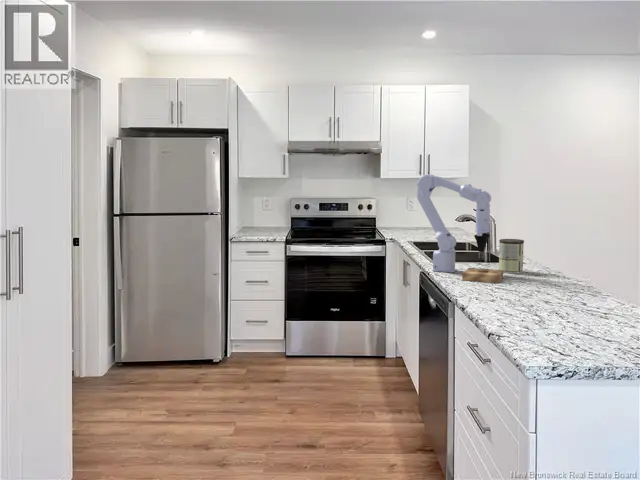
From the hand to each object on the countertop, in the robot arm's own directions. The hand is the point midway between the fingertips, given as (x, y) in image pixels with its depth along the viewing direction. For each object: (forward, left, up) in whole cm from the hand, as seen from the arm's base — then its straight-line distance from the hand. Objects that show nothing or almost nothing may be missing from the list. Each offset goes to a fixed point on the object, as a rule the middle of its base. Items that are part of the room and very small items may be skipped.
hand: (481, 251), depth 241 cm
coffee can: (+11, +10, -10) cm, 18 cm away
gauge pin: (0, 0, -3) cm, 3 cm away
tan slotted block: (+3, -13, -10) cm, 16 cm away
